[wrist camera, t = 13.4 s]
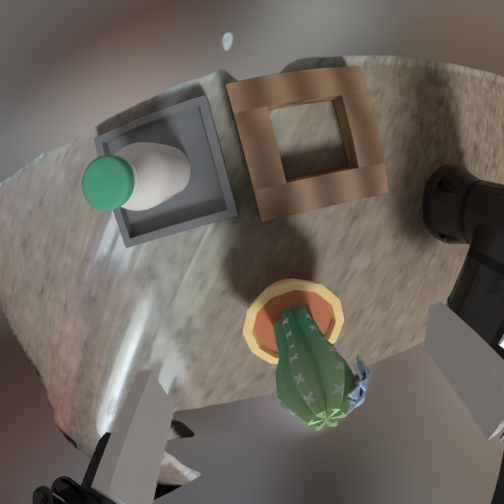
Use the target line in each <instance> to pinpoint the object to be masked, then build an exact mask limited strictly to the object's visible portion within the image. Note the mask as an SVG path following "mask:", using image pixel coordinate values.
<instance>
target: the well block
mask: <svg viewBox="0 0 504 504" xmlns="http://www.w3.org/2000/svg"><path fill="white" fill-rule="evenodd" d="M226 89H227V93H228V97H229V101H230V104H231V108H232V112H233V115H234V119H235V123H236V126H237V130H238V134H239V138H240V141H241V145H242V149H243V153H244V156H245V160H246V164H247V168H248V172H249V176H250V179H251V183H252V187H253V191H254V195H255V199H256V203H257V207H258V211H259V215H260V218H261V221H262V222H265V221H269V220H273V219H277V218H281V217H285V216H289V215H293V214H298V213H302V212H306V211H310V210H314V209H318V208H323V207H327V206H331V205H336V204H340V203H344V202H349V201H353V200H358V199H362V198H367V197H371V196H376V195H380V194H385V193H389V189H388V182H387V175H386V169H385V163H384V158H383V152H382V147H381V142H380V138H379V133H378V129H377V124H376V120H375V116H374V112H373V108H372V105H371V101H370V97H369V94H368V90H367V87H366V84H365V81H364V77H363V74H362V71H361V68H360V66H352V67H332V68H319V69H309V70H300V71H292V72H285V73H279V74H273V75H267V76H261V77H256V78H251V79H247V80H242V81H237V82H233V83H229V84H226ZM332 100H333V103H334V107H335V111H336V114H337V118H338V122H339V126H340V130H341V134H342V139H343V143H344V147H345V152H346V157H347V161H348V166H349V167H346V168H341V169H336V170H331V171H326V172H321V173H316V174H311V175H307V176H302V177H298V178H293V179H289V180H286V179H285V175H284V171H283V167H282V163H281V158H280V154H279V150H278V147H277V143H276V139H275V135H274V131H273V127H272V124H271V120H270V116H269V113H268V111H269V110H274V109H279V108H284V107H290V106H296V105H302V104H309V103H316V102H324V101H332Z"/></svg>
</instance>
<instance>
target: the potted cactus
mask: <svg viewBox="0 0 504 504" xmlns="http://www.w3.org/2000/svg"><path fill="white" fill-rule="evenodd" d="M343 322H344V317H343V312H342V308H341V303H340V299H338V298H337V297H336V296H335V295H334V294H333V293H331V292H330V291H329V290H328V289H327V288H326V287H324V286H323V285H322V284H321V283H319V282H315V281H308V280H301V279H294V278H292V279H289V278H285V279H282V280H279V281H276V282H273V283H272V284H271V285H270V286H269V287H267V288H266V289H265V290H264V291H263V292H262V293H261V294H260V295H259V296H258V297H257V298H256V299H255V300H254V301H253V302H252V303H251V304H250V305H249V307H248V310H247V314H246V319H245V324H244V329H243V335H244V337H245V339H246V341H247V343H248V345H249V347H250V349H251V352H252V353H254V354H256V355H257V356H259V357H261V358H262V359H264V360H266V361H267V362H269V363H271V364H278V365H277V369H276V373H275V374H276V385H277V397H278V402H279V404H280V405H281V406H282V407H283V408H284V409H285V410H286V411H288V412H289V413H291V414H292V415H293V416H295V417H296V418H298V419H299V420H300V421H302V422H303V423H305V424H306V425H308V426H309V427H311V428H312V429H314V430H317V431H318V430H320V429H321V428H322V427H323V426H324V424H325V422H326V423H327V425H328V426H331V427H335V426H337V423H338V418H342V417H346V415H347V413H349V412H350V411H352V410H353V409H354V408H355V407H357V406H359V405H361V404H362V403H363V402H364V398H365V393H366V388H367V383H368V377H369V369H368V367H367V366H366V365H365V364H364V363H363V361H362V360H361V358H360V357H359V356H356V358H357V360H358V363H359V364H358V363H354V364H353V365H354V368H355V370H356V372H357V374H355V375H354V374H353V373H352V371H351V369H350V368H349V366H348V364H347V362H346V361H345V359H343V358H342V357H341V356H340V355H339V354H338V352H337V351H336V349H335V347H334V345H333V344H334V343H335V342H336V340H337V337H338V335H339V333H340V330H341V328H342V325H343ZM363 375H364V377H363ZM359 395H360V398H359ZM358 398H359V399H358ZM351 403H354V404H353V405H352V406H351V407H350V405H351Z"/></svg>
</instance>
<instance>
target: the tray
mask: <svg viewBox="0 0 504 504" xmlns="http://www.w3.org/2000/svg"><path fill="white" fill-rule="evenodd" d="M94 140H95V145H96V149H97V154H98V157H100V156H104V155H115V153H117V152H118V151H119V150H120V149H122V148H123V147H125V146H127V145H130V144H133V143H138V142H150V143H157V144H163V145H168V146H172V147H175V148H178V149H179V150H181V151H182V152H183V153H184V154H185V155H186V156H187V158H188V160H189V162H190V166H191V175H190V179H189V182H188V184H187V186H186V187H185V188H184V189H183V190H182V191H181V192H180V193H179V194H177V195H176V196H174V197H172V198H170V199H168V200H167V201H165V202H163V203H161V204H159V205H157V206H155V207H153V208H150V209H147V210H141V211H134V210H128V209H125V208H122V207H119V208H117V209H114V210H113V211H114V214H115V217H116V220H117V223H118V226H119V229H120V232H121V235H122V238H123V241H124V243H125V246H126V248H128V247H131V246H134V245H138V244H141V243H144V242H147V241H151V240H154V239H157V238H161V237H164V236H168V235H171V234H175V233H178V232H182V231H185V230H189V229H192V228H196V227H199V226H203V225H206V224H210V223H214V222H217V221H221V220H225V219H229V218H232V217H236V216H238V209H237V205H236V202H235V198H234V194H233V191H232V187H231V183H230V179H229V176H228V172H227V168H226V165H225V161H224V157H223V153H222V150H221V146H220V142H219V138H218V135H217V131H216V127H215V123H214V120H213V116H212V112H211V108H210V105H209V101H208V98H207V96H206V95H204V96H200V97H197V98H194V99H190V100H187V101H184V102H181V103H178V104H175V105H172V106H169V107H166V108H164V109H161V110H158V111H156V112H153V113H150V114H148V115H145V116H143V117H140V118H138V119H135V120H133V121H131V122H128V123H126V124H124V125H121V126H119V127H117V128H115V129H113V130H110V131H108V132H106V133H104V134H102V135H100V136H98V137H96V138H94Z"/></svg>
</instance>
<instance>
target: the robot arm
mask: <svg viewBox="0 0 504 504" xmlns="http://www.w3.org/2000/svg"><path fill="white" fill-rule="evenodd" d="M423 215H424V220H425V223H426V226H427V228H428V230H429V232H430V233H431V234H432V235H433V236H434V237H435V238H436V239H438V240H440V241H442V242H444V243H448V244H469V245H470V247H469V250H468V253H467V256H466V258H465V261H464V264H463V266H462V269H461V271H460V274H459V276H458V279H457V281H456V283H455V285H454V288H453V290H452V292H451V294H450V295H449V297H448V298H447V303H446V305H445V304H444V303H443V302H439V303H436V304H434V305H431V306H429V314H428V322H427V329H426V336H425V342H424V348H423V351H424V352H425V353H426V354H427V355H428V357H429V358H430V359H431V361H432V362H433V363H434V365H435V366H436V367H437V369H438V370H439V371H440V372H441V374H442V375H443V376H444V378H445V379H446V380H447V382H448V383H449V385H450V386H451V387H452V389H453V390H454V391H455V392H456V394H457V395H458V397H459V398H460V400H461V401H462V403H463V404H464V405H465V407H466V408H467V410H468V411H469V413H470V414H471V416H472V417H473V419H474V420H475V422H476V423H477V425H478V426H479V428H480V429H481V431H482V432H483V434H484V436H485V437H486V439H487V440H489V439H491V438H492V437H493V436H494V435H496V434H497V433H498V432H500V431H501V429H502V428H503V427H504V185H503V184H498V183H494V182H489V181H484V180H480V179H478V178H477V177H475V176H474V175H472V174H471V173H469V172H468V171H466V170H465V169H463V168H461V167H458V166H451V165H446V166H443V167H441V168H439V169H437V170H436V171H435V172H434V173H433V175H432V176H431V178H430V179H429V181H428V183H427V186H426V189H425V192H424V198H423ZM174 408H175V406H174V405H173V403H172V402H171V400H170V399H169V397H168V396H167V394H166V392H165V391H164V389H163V388H162V386H161V384H160V383H159V381H158V380H157V378H156V376H155V375H154V373H153V371H152V370H145V371H138V373H137V375H136V377H135V380H134V382H133V384H132V386H131V389H130V391H129V393H128V395H127V398H126V400H125V402H124V405H123V407H122V409H121V412H120V414H119V416H118V419H117V421H116V423H115V426H114V428H113V431H112V433H107V432H106V433H105V434H104V435H103V436H102V438H101V439H100V440H99V442H98V444H97V446H96V449H95V450H96V451H94V454H93V456H92V457H93V459H91V461H90V464H89V466H88V469H87V471H86V474H85V477H84V479H83V482H82V484H81V486H80V485H79V484H77V483H76V482H75V481H74V480H72V479H71V478H69V477H66V476H62V477H59V478H57V479H56V480H55V481H54V483H53V484H52V487H51V490H50V489H49V488H48V487H46V486H40V487H38V488H37V489H35V491H34V493H33V504H152V503H153V499H154V494H155V489H156V485H157V480H158V475H159V471H160V466H161V462H162V458H163V453H164V449H165V445H166V441H167V436H168V432H169V428H170V424H171V420H172V416H173V412H174ZM503 438H504V433H503V434H502V436H501V437H500V440H499V441H502V439H503ZM491 504H504V452H503V458H502V463H501V468H500V473H499V477H498V481H497V485H496V489H495V492H494V495H493V499H492V502H491Z"/></svg>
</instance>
